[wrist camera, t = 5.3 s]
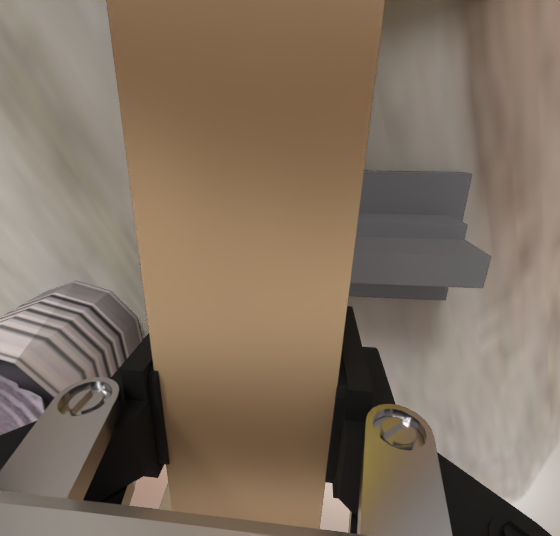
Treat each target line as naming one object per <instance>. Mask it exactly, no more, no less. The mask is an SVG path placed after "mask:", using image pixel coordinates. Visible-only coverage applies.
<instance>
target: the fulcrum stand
mask: <svg viewBox="0 0 560 536" xmlns="http://www.w3.org/2000/svg"><path fill="white" fill-rule="evenodd" d="M471 177H472V174H471V173H465V172H420V171H364V174H363V182H362V190H361V198H360V206H359V215H358V223H357V231H356V239H355V247H354V255H353V263H352V271H351V279H350V287H349V295H348V296H359V297H382V298H405V299H428V300H446V296H447V291H448V287H464V288H483V286H484V282H485V279H486V275H487V271H488V267H489V263H490V259H491V256H490V255H488V254H487V253H485V252H483V251H482V250H480V249H479V248H477V247H475V246H474V245H472V244H471V243H469V242H468V241H466V240H464V238H465V234H466V229H467V224H465V223H463V222H462V220H463V215H464V210H465V206H466V201H467V196H468V191H469V187H470V182H471Z"/></svg>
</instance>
